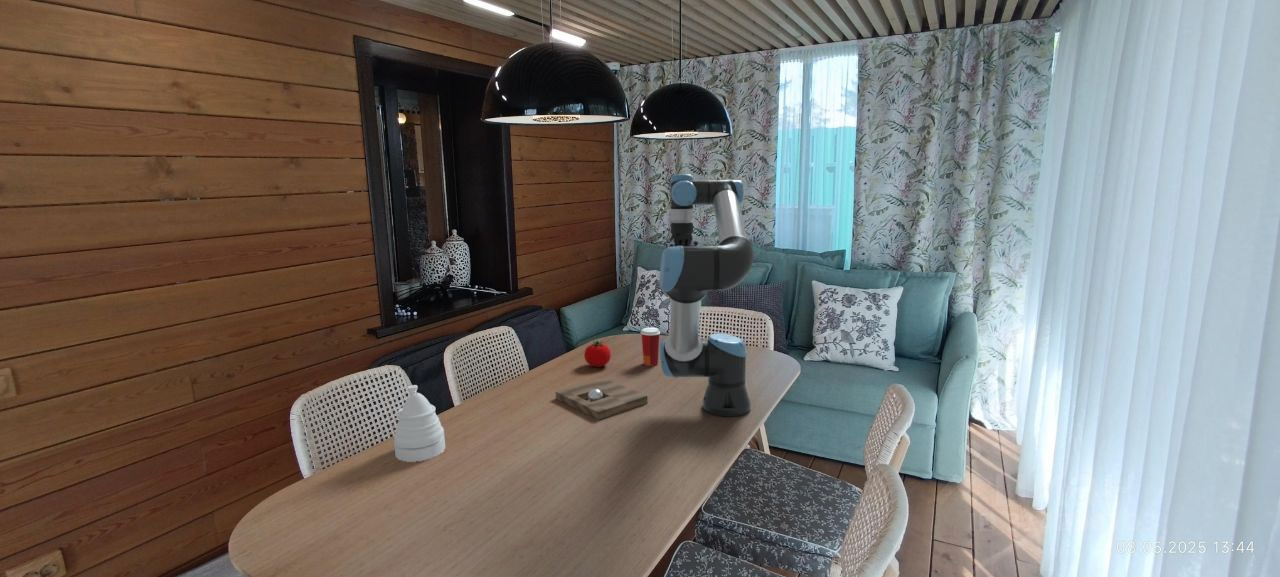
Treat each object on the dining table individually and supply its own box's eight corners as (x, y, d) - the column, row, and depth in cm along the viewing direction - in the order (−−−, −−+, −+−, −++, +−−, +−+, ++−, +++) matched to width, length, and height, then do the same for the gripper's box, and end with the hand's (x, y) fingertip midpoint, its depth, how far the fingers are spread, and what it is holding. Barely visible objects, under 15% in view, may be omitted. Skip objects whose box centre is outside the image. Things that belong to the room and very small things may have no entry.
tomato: (593, 360, 238) (592, 336, 236) (616, 364, 233) (615, 339, 231) (579, 368, 229) (578, 343, 227) (603, 371, 224) (602, 346, 222)
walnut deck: (647, 403, 192) (647, 395, 192) (598, 419, 180) (598, 412, 179) (603, 384, 210) (603, 377, 210) (555, 398, 198) (555, 391, 197)
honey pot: (388, 450, 162) (382, 388, 159) (434, 436, 170) (429, 377, 167) (404, 466, 152) (398, 401, 149) (452, 451, 160) (447, 389, 157)
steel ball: (590, 402, 188) (595, 409, 192) (602, 393, 189) (607, 400, 193) (582, 392, 191) (588, 399, 195) (595, 383, 192) (600, 390, 196)
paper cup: (661, 361, 236) (660, 327, 233) (659, 367, 229) (659, 332, 226) (641, 360, 237) (641, 327, 234) (639, 366, 229) (639, 332, 227)
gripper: (687, 220, 202) (687, 287, 206) (659, 222, 193) (660, 292, 198) (703, 221, 196) (703, 290, 200) (675, 223, 188) (675, 295, 192)
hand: (682, 291), depth 199 cm, fingers closed
